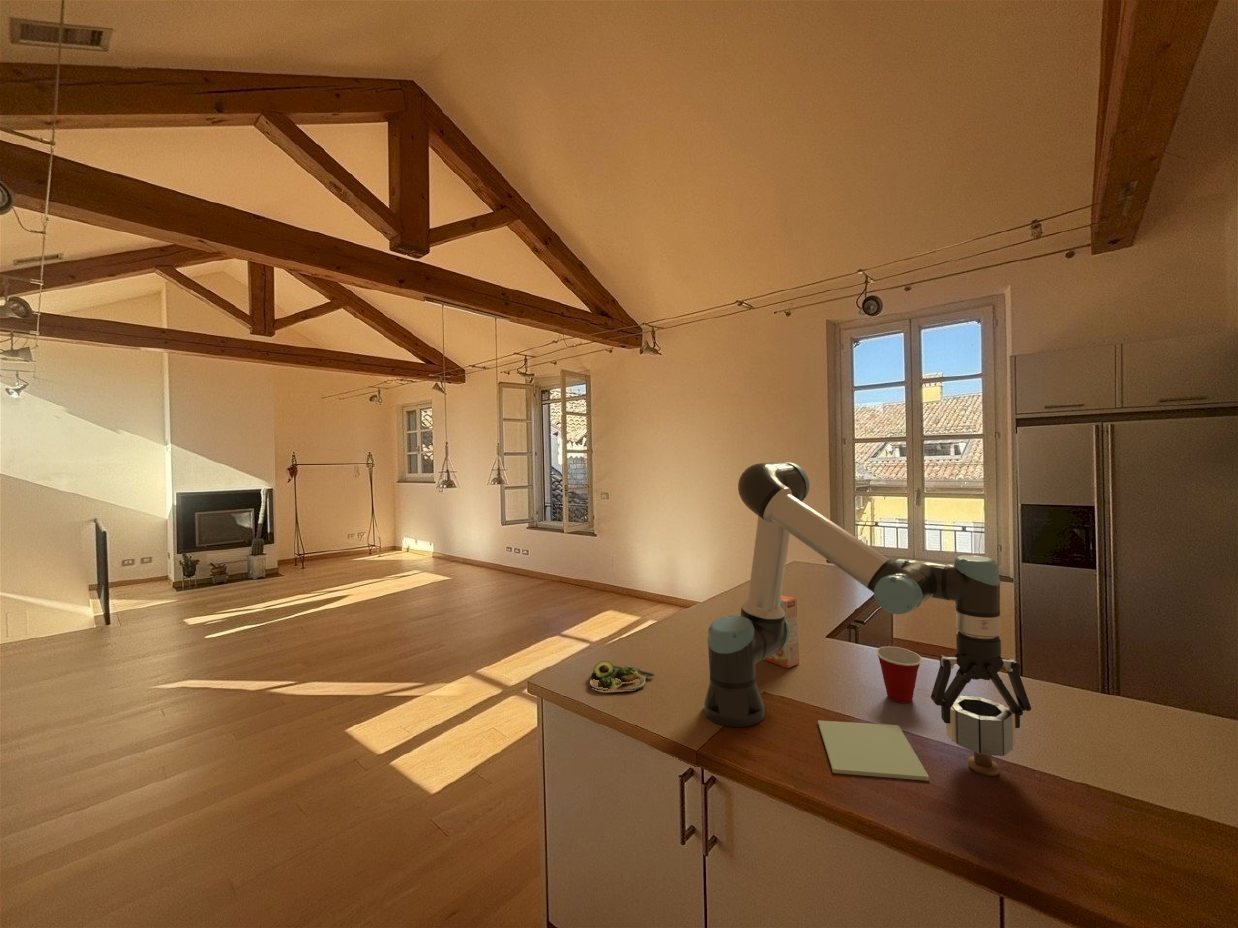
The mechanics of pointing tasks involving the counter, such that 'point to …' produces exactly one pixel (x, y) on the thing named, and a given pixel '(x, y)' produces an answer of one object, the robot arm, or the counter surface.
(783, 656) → the cracker box
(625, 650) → the counter surface
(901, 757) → the sage mat
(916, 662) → the plastic cup
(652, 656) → the counter surface
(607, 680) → the salad plate
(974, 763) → the tan peg with base
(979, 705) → the grey hollow octagonal ring
